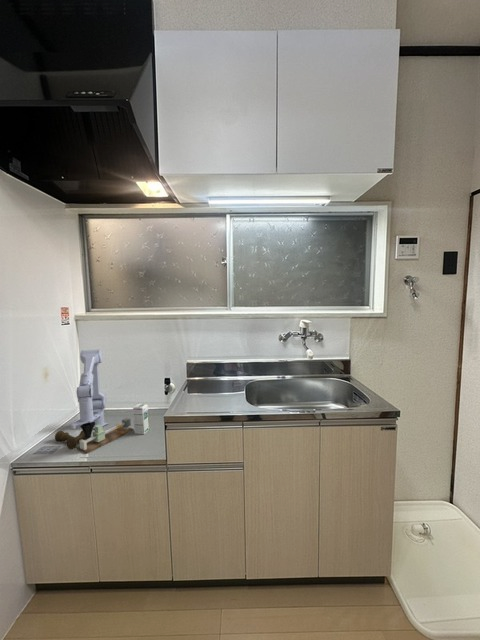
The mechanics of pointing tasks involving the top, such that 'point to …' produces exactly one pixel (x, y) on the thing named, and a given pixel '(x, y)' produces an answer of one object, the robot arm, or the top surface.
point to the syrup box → (141, 418)
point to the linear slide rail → (125, 424)
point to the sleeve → (99, 433)
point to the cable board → (106, 439)
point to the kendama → (70, 438)
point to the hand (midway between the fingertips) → (88, 437)
